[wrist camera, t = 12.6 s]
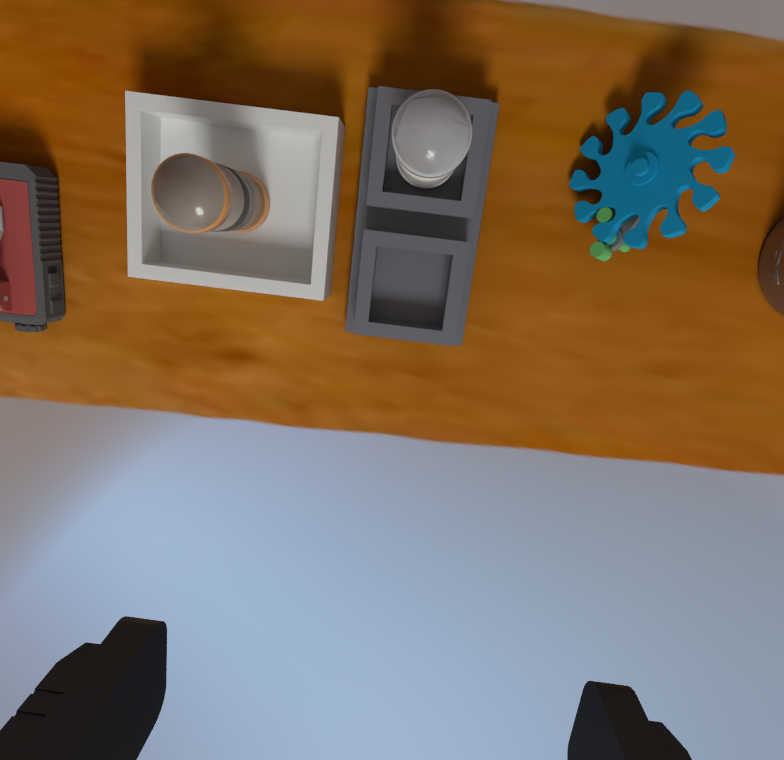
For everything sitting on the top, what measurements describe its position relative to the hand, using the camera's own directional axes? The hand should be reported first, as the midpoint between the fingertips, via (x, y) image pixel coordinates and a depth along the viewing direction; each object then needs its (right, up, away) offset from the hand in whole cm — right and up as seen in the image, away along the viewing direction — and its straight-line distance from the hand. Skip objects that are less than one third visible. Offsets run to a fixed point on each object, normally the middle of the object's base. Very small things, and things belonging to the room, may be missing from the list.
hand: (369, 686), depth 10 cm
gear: (+17, +20, +29) cm, 39 cm away
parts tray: (-11, +19, +30) cm, 37 cm away
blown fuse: (-11, +19, +29) cm, 37 cm away
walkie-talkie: (-29, +13, +32) cm, 46 cm away
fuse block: (+2, +17, +30) cm, 35 cm away
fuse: (+3, +21, +28) cm, 35 cm away
